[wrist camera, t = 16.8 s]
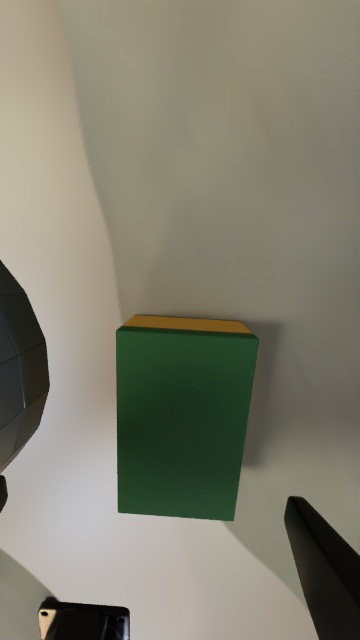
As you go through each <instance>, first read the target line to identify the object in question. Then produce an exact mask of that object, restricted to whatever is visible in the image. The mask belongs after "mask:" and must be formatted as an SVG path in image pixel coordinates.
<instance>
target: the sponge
mask: <svg viewBox="0 0 360 640" xmlns="http://www.w3.org/2000/svg"><path fill="white" fill-rule="evenodd" d="M258 344H259V339H258V338H257V337H256V336H255V335H254V334H252V332H251V331H250V330H248V329H247V328H246V327H245V326H244V325H243V324H242V323H241V322H240V321H224V320H208V319H191V318H174V317H158V316H141V315H134V316H133V317H132V318H131V319H129V320H128V321H127V322H126V323H125V324H124V325H123V326H121V327H120V328H119V329H117V331H116V367H117V368H116V370H117V371H116V372H117V470H118V471H117V474H118V512H119V513H130V514H142V515H143V514H144V515H156V516H170V517H183V518H195V519H209V520H222V521H234V514H235V507H236V500H237V493H238V486H239V479H240V472H241V465H242V458H243V450H244V443H245V436H246V429H247V422H248V415H249V408H250V401H251V394H252V386H253V379H254V372H255V365H256V358H257V351H258Z"/></svg>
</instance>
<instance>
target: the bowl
mask: <svg viewBox="0 0 360 640" xmlns="http://www.w3.org/2000/svg"><path fill="white" fill-rule="evenodd" d="M45 341H46V340H45V337H44V335H43V333H42V330H41V328H40V325H39V323H38V321H37V318H36V316H35V314H34V311H33V309H32V306H31V304H30V302H29V299H28V297H27V294H26V293H25V291H24V289H23V288H22V287H21V286H20V284H19V283H18V282H17V280H15V278H14V277H13V275H12V274H11V273H10V272H9V270H8V269H7V268H6V267H5V265H4V264H3V263H2V261H1V260H0V474H1V472H2V471H3V470H4V469H5V468H6V467H7V466H8V465H9V464H10V463H11V462H12V460H13V459H14V458H15V457H16V456H17V455H18V454H19V452H20V451H21V450H22V448H23V447H24V446H25V444H26V443H27V442H28V440H29V439H30V438H31V437H32V435H33V434H34V433H35V431H36V430H37V428H38V426H39V425H40V421H41V417H42V414H43V410H44V406H45V402H46V399H47V395H48V392H49V387H50V382H49V371H48V359H47V348H46V342H45Z"/></svg>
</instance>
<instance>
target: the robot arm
mask: <svg viewBox="0 0 360 640" xmlns="http://www.w3.org/2000/svg"><path fill="white" fill-rule="evenodd" d="M7 497H8V493H7V486H6V480H5V477H4V476H3V475H0V513H1V511H2V509H3V507H4V505H5V503H6V501H7ZM284 521H285V526H286V530H287V534H288V537H289V541H290V545H291V549H292V552H293V556H294V560H295V564H296V567H297V571H298V575H299V578H300V582H301V586H302V589H303V593H304V596H305V599H306V602H307V605H308V608H309V611H310V614H311V617H312V620H313V623H314V626H315V629H316V631H317V634H318V637H319V640H360V556H359V555H358V554H357V552H356V551H355V550H354V549H353V548H352V547H351V546H350V545H349V544H348V543H347V542H346V541H345V540H344V539H343V538H342V537H341V536H340V535H339V534H338V533H337V532H336V531H335V530H334V529H333V528H332V527H331V526H330V525H329V523H328V522H327V521H326V520H325V519H324V518H323V517H322V516H321V515H320V514H319V513H318V512H317V511H316V510H315V509H314V508H313V507H312V506H311V505H310V504H309V503H308V502H307V501H306V500H305V499H304V498H303V497H299V496H289V497H288V500H287V505H286V510H285V515H284ZM38 619H39V627H40V634H41V640H130V611H129V609H128V608H126V607H119V606H107V605H94V604H82V603H69V602H56V601H44V602H42V603H41V606H40V608H39V610H38Z"/></svg>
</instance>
